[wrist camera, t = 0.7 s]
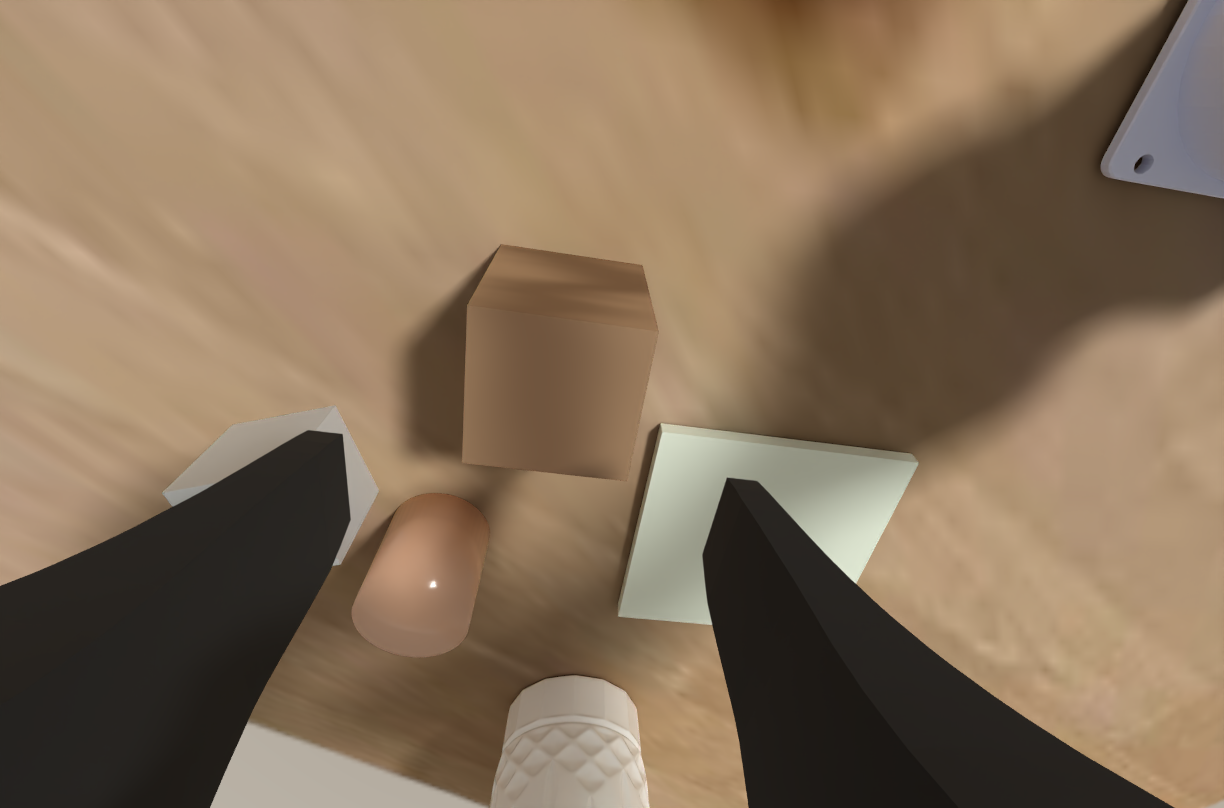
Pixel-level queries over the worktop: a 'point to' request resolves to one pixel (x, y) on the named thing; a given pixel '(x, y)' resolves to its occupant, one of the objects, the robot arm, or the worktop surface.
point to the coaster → (789, 470)
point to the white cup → (571, 748)
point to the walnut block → (557, 363)
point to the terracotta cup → (424, 577)
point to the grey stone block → (263, 437)
